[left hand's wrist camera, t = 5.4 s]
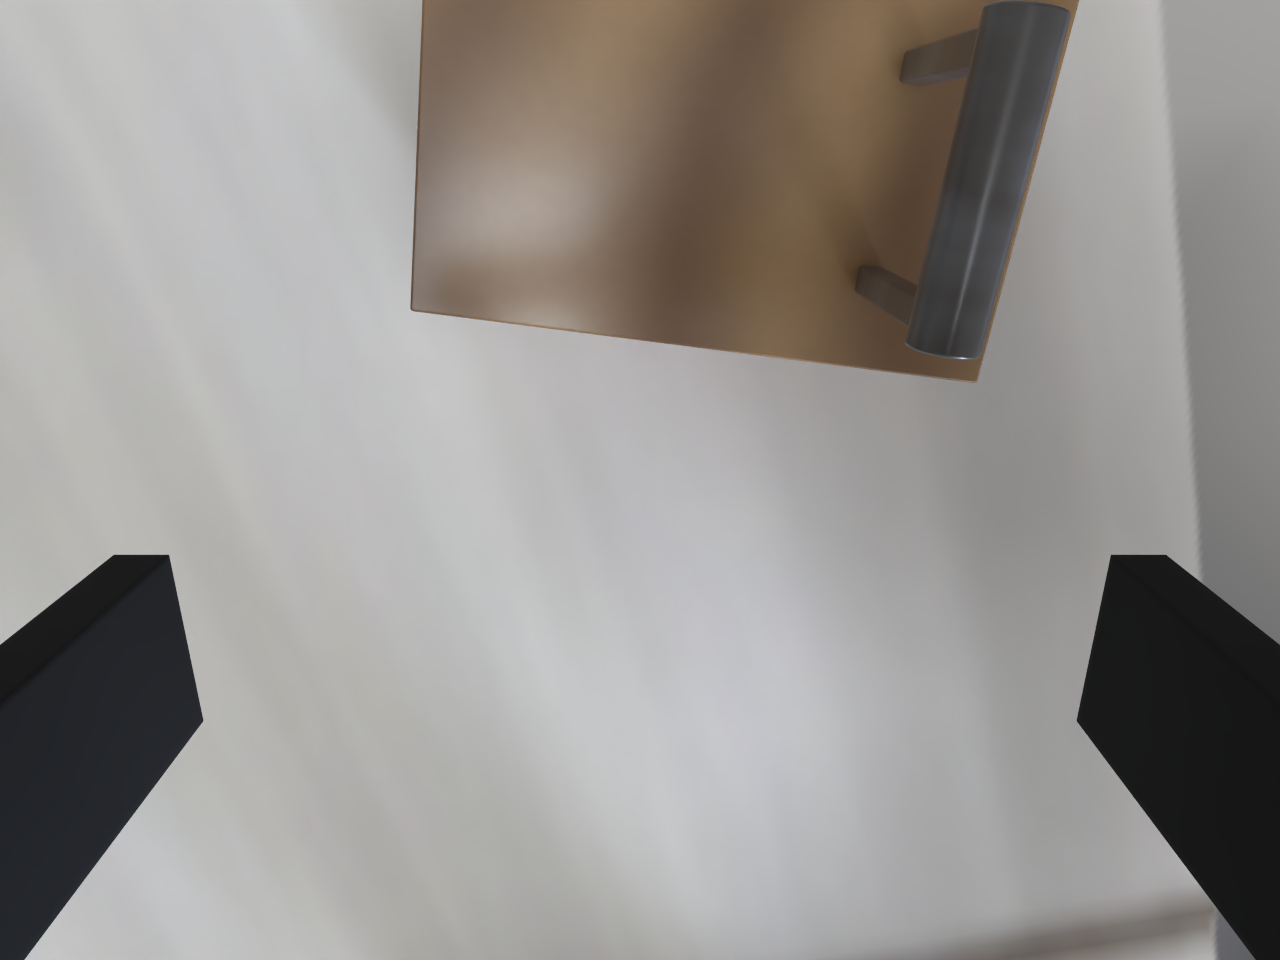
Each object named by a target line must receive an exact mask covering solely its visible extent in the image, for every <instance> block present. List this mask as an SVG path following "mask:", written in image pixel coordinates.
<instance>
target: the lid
mask: <svg viewBox="0 0 1280 960" xmlns="http://www.w3.org/2000/svg"><path fill="white" fill-rule="evenodd" d="M1078 2H1079V0H423V3H422V29H421V54H420V79H419V105H418V130H417V155H416V181H415V206H414V231H413V257H412V282H411V307H410V308H411V310H412V311H416V312H424V313H432V314H439V315H447V316H455V317H463V318H471V319H479V320H486V321H494V322H502V323H510V324H518V325H525V326H533V327H541V328H549V329H557V330H565V331H572V332H580V333H588V334H596V335H604V336H611V337H619V338H627V339H635V340H643V341H651V342H658V343H666V344H674V345H682V346H690V347H697V348H705V349H713V350H721V351H729V352H737V353H744V354H752V355H760V356H768V357H776V358H784V359H791V360H799V361H807V362H815V363H823V364H830V365H838V366H846V367H854V368H862V369H870V370H877V371H885V372H893V373H901V374H909V375H916V376H924V377H932V378H940V379H948V380H956V381H963V382H971V383H975V382H977V379H978V375H979V372H980V368H981V364H982V360H983V357H984V353H985V349H986V346H987V342H988V338H989V334H990V331H991V327H992V323H993V319H994V316H995V312H996V308H997V305H998V301H999V297H1000V293H1001V290H1002V286H1003V282H1004V278H1005V275H1006V271H1007V267H1008V263H1009V260H1010V256H1011V252H1012V249H1013V245H1014V241H1015V237H1016V234H1017V230H1018V226H1019V222H1020V219H1021V215H1022V211H1023V208H1024V204H1025V200H1026V196H1027V193H1028V189H1029V185H1030V181H1031V178H1032V174H1033V170H1034V167H1035V163H1036V159H1037V155H1038V152H1039V148H1040V144H1041V140H1042V137H1043V133H1044V129H1045V126H1046V122H1047V118H1048V114H1049V111H1050V107H1051V103H1052V99H1053V96H1054V92H1055V88H1056V84H1057V81H1058V77H1059V73H1060V70H1061V66H1062V62H1063V58H1064V55H1065V51H1066V47H1067V43H1068V40H1069V36H1070V32H1071V29H1072V25H1073V21H1074V17H1075V14H1076V10H1077V6H1078Z"/></svg>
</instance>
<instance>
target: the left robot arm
mask: <svg viewBox="0 0 1280 960" xmlns="http://www.w3.org/2000/svg"><path fill="white" fill-rule="evenodd" d="M202 722H203V717H202V712H201V707H200V702H199V698H198V693H197V688H196V683H195V678H194V673H193V669H192V664H191V659H190V654H189V649H188V644H187V640H186V635H185V630H184V625H183V620H182V616H181V611H180V606H179V601H178V596H177V591H176V587H175V582H174V577H173V572H172V567H171V563H170V558H169V555H113V556H112V557H111V558H109V559H108V560H107V561H106V562H104V563H103V564H102V565H101V566H99V567H98V568H97V569H96V570H94V571H93V572H92V573H90V574H89V575H88V576H87V577H85V578H84V579H83V580H82V581H80V582H79V583H78V584H77V585H75V586H74V587H73V588H72V589H70V590H69V591H68V592H66V593H65V594H64V595H63V596H61V597H60V598H59V599H58V600H56V601H55V602H54V603H53V604H51V605H50V606H49V607H48V608H46V609H45V610H44V611H43V612H41V613H40V614H39V615H37V616H36V617H35V618H34V619H32V620H31V621H30V622H29V623H27V624H26V625H25V626H24V627H22V628H21V629H20V630H19V631H17V632H16V633H15V634H13V635H12V636H11V637H10V638H8V639H7V640H6V641H5V642H3V643H2V644H1V645H0V960H24V959H25V958H26V957H27V955H28V954H29V953H30V951H31V950H32V949H33V947H34V946H35V945H36V943H37V942H38V941H39V939H40V938H41V937H42V935H43V934H44V933H45V931H46V930H47V929H48V927H49V926H50V925H51V923H52V922H53V921H54V919H55V918H56V917H57V915H58V914H59V913H60V911H61V910H62V909H63V907H64V906H65V905H66V903H67V902H68V901H69V899H70V898H71V897H72V895H73V894H74V893H75V891H76V890H77V889H78V887H79V886H80V885H81V883H82V882H83V881H84V879H85V878H86V877H87V875H88V874H89V873H90V871H91V870H92V869H93V867H94V866H95V865H96V863H97V862H98V861H99V859H100V858H101V857H102V855H103V854H104V853H105V851H106V850H107V849H108V847H109V846H110V845H111V843H112V842H113V841H114V839H115V838H116V837H117V835H118V834H119V833H120V831H121V830H122V829H123V827H124V826H125V825H126V823H127V822H128V821H129V819H130V818H131V817H132V815H133V814H134V813H135V811H136V810H137V809H138V807H139V806H140V805H141V803H142V802H143V801H144V799H145V798H146V797H147V795H148V794H149V793H150V791H151V790H152V789H153V787H154V786H155V785H156V783H157V782H158V781H159V779H160V778H161V777H162V775H163V774H164V773H165V771H166V770H167V769H168V767H169V766H170V765H171V763H172V762H173V761H174V759H175V758H176V757H177V755H178V754H179V753H180V751H181V750H182V749H183V747H184V746H185V745H186V743H187V742H188V741H189V739H190V738H191V737H192V735H193V734H194V733H195V731H196V730H197V729H198V727H199V726H200V725H201V723H202ZM1077 722H1078V723H1079V725H1080V726H1081V727H1082V729H1083V730H1084V731H1085V733H1086V734H1087V735H1088V737H1089V738H1090V739H1091V741H1092V742H1093V743H1094V745H1095V746H1096V747H1097V749H1098V750H1099V751H1100V753H1101V754H1102V755H1103V757H1104V758H1105V759H1106V761H1107V762H1108V763H1109V765H1110V766H1111V767H1112V769H1113V770H1114V771H1115V773H1116V774H1117V775H1118V777H1119V778H1120V779H1121V781H1122V782H1123V783H1124V785H1125V786H1126V787H1127V789H1128V790H1129V791H1130V793H1131V794H1132V795H1133V797H1134V798H1135V799H1136V801H1137V802H1138V803H1139V805H1140V806H1141V807H1142V809H1143V810H1144V811H1145V813H1146V814H1147V815H1148V817H1149V818H1150V819H1151V821H1152V822H1153V823H1154V825H1155V826H1156V827H1157V829H1158V830H1159V831H1160V833H1161V834H1162V835H1163V837H1164V838H1165V839H1166V841H1167V842H1168V843H1169V845H1170V846H1171V847H1172V849H1173V850H1174V851H1175V853H1176V854H1177V855H1178V857H1179V858H1180V859H1181V861H1182V862H1183V863H1184V865H1185V866H1186V867H1187V869H1188V870H1189V871H1190V873H1191V874H1192V875H1193V877H1194V878H1195V879H1196V881H1197V882H1198V883H1199V885H1200V886H1201V887H1202V889H1203V890H1204V891H1205V893H1206V894H1207V895H1208V897H1209V898H1210V899H1211V901H1212V902H1213V903H1214V905H1215V906H1216V907H1217V909H1218V910H1219V911H1220V913H1221V914H1222V915H1223V917H1224V918H1225V919H1226V921H1227V922H1228V923H1229V925H1230V926H1231V927H1232V929H1233V930H1234V931H1235V933H1236V934H1237V935H1238V937H1239V938H1240V939H1241V941H1242V942H1243V943H1244V945H1245V946H1246V947H1247V949H1248V950H1249V951H1250V953H1251V954H1252V955H1253V957H1254V958H1255V959H1256V960H1280V645H1279V644H1278V643H1277V642H1275V641H1274V640H1273V639H1272V638H1270V637H1269V636H1268V635H1267V634H1265V633H1264V632H1263V631H1261V630H1260V629H1259V628H1258V627H1256V626H1255V625H1254V624H1253V623H1251V622H1250V621H1249V620H1248V619H1246V618H1245V617H1244V616H1243V615H1241V614H1240V613H1239V612H1237V611H1236V610H1235V609H1234V608H1232V607H1231V606H1230V605H1229V604H1227V603H1226V602H1225V601H1224V600H1222V599H1221V598H1220V597H1219V596H1217V595H1216V594H1215V593H1213V592H1212V591H1211V590H1210V589H1208V588H1207V587H1206V586H1205V585H1203V584H1202V583H1201V582H1200V581H1198V580H1197V579H1196V578H1195V577H1193V576H1192V575H1191V574H1190V573H1188V572H1187V571H1186V570H1184V569H1183V568H1182V567H1181V566H1179V565H1178V564H1177V563H1176V562H1174V561H1173V560H1172V559H1171V558H1169V557H1168V556H1167V555H1111V558H1110V563H1109V567H1108V572H1107V577H1106V582H1105V587H1104V591H1103V596H1102V601H1101V606H1100V611H1099V616H1098V620H1097V625H1096V630H1095V635H1094V640H1093V644H1092V649H1091V654H1090V659H1089V664H1088V669H1087V673H1086V678H1085V683H1084V688H1083V693H1082V698H1081V702H1080V707H1079V712H1078V717H1077Z"/></svg>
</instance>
